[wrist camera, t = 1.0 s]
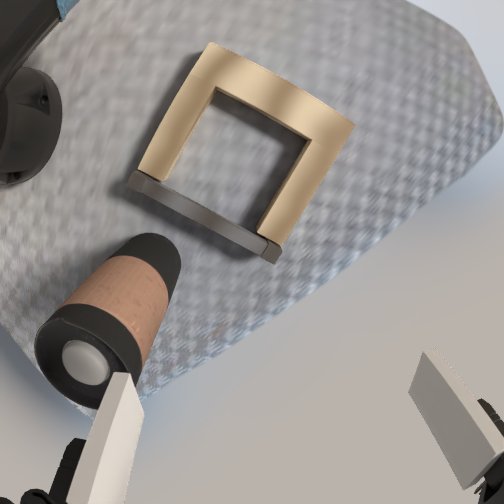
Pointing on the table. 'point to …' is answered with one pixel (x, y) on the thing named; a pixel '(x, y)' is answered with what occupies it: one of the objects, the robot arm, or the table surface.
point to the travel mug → (109, 320)
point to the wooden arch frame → (267, 103)
